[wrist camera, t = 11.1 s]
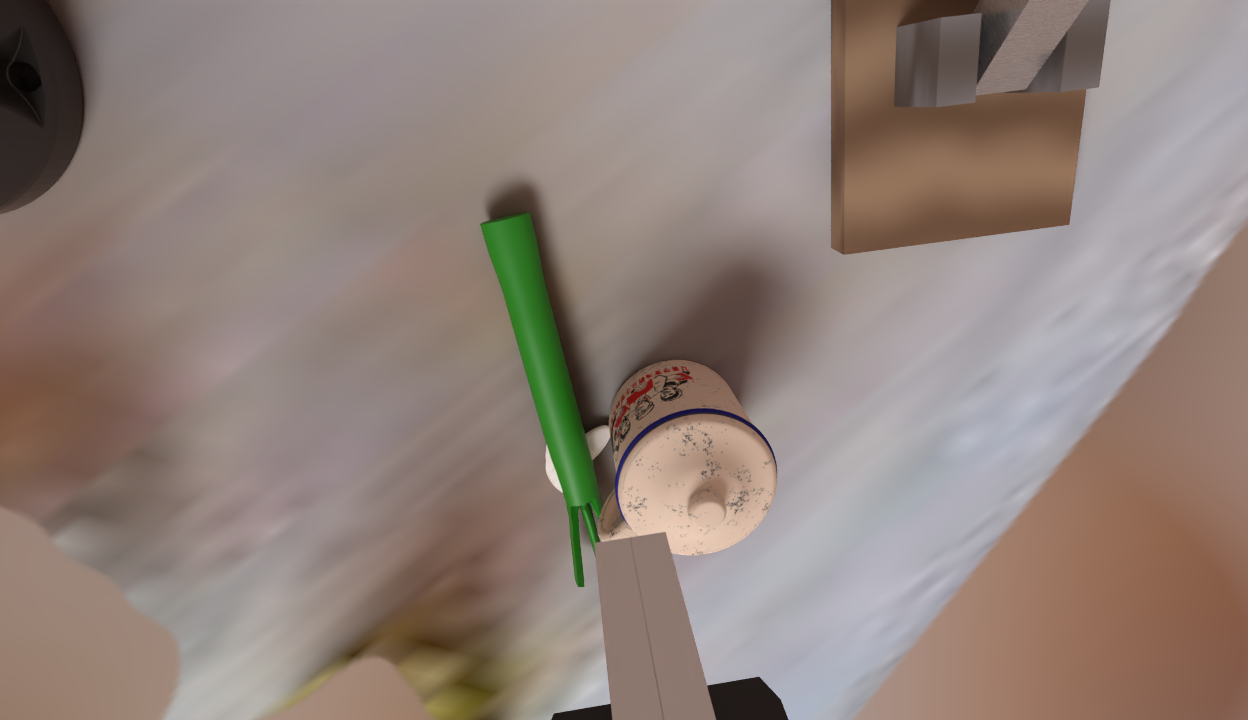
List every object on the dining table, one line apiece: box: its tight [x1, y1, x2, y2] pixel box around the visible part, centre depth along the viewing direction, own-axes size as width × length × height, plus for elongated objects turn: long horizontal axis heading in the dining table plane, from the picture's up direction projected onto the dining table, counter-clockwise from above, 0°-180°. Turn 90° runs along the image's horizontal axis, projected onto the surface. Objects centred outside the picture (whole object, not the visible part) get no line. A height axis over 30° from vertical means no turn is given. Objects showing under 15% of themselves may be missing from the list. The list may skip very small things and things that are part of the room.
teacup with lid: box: [598, 360, 777, 555], centre depth 40 cm, size 12×9×12 cm
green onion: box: [480, 212, 610, 587], centre depth 44 cm, size 5×3×30 cm
